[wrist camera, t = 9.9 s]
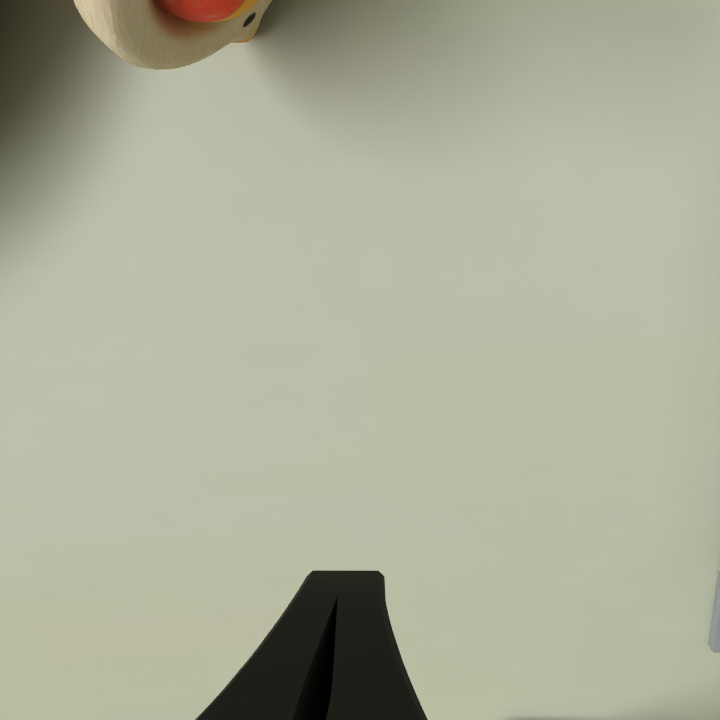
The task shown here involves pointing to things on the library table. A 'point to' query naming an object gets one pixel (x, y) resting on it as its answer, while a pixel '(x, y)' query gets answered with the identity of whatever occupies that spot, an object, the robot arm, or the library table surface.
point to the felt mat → (716, 621)
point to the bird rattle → (171, 28)
